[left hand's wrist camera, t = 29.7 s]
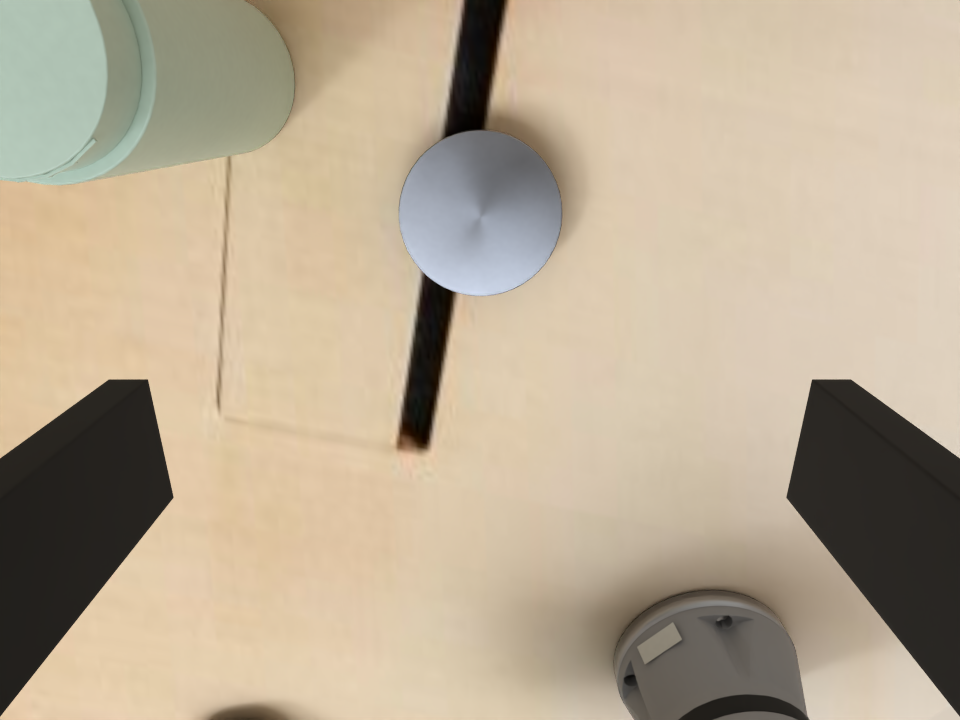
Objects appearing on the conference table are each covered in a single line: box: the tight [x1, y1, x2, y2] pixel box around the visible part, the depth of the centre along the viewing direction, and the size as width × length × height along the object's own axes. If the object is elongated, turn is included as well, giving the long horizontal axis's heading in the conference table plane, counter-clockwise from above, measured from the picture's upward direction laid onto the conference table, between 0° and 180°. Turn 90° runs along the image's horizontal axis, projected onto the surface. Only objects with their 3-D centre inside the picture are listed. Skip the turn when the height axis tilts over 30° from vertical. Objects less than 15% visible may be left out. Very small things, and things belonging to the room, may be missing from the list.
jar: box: [0, 0, 295, 185], centre depth 28 cm, size 9×9×20 cm
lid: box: [399, 129, 562, 296], centre depth 39 cm, size 10×10×2 cm
